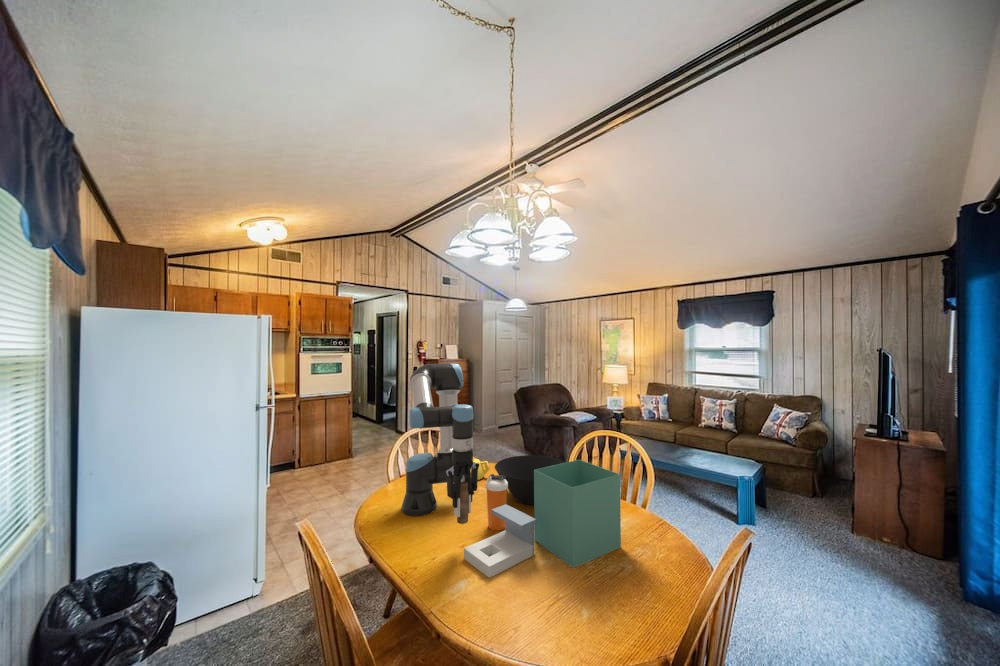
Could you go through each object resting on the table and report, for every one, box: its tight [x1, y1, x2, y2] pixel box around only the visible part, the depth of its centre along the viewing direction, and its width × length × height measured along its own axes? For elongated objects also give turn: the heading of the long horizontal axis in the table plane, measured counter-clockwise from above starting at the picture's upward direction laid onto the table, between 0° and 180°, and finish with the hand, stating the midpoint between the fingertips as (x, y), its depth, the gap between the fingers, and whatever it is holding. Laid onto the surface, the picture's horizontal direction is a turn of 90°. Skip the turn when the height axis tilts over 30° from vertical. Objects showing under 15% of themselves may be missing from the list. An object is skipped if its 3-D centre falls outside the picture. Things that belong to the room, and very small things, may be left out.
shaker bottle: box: [485, 473, 508, 531], centre depth 151 cm, size 9×9×20 cm
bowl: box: [494, 454, 566, 505], centre depth 178 cm, size 36×36×15 cm
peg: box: [456, 480, 469, 525], centre depth 135 cm, size 4×4×14 cm
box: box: [533, 459, 622, 569], centre depth 138 cm, size 23×21×26 cm
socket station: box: [463, 503, 536, 579], centre depth 130 cm, size 16×20×12 cm
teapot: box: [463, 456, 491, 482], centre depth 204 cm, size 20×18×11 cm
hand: (462, 513), depth 135 cm, fingers closed on peg, 4 cm apart
